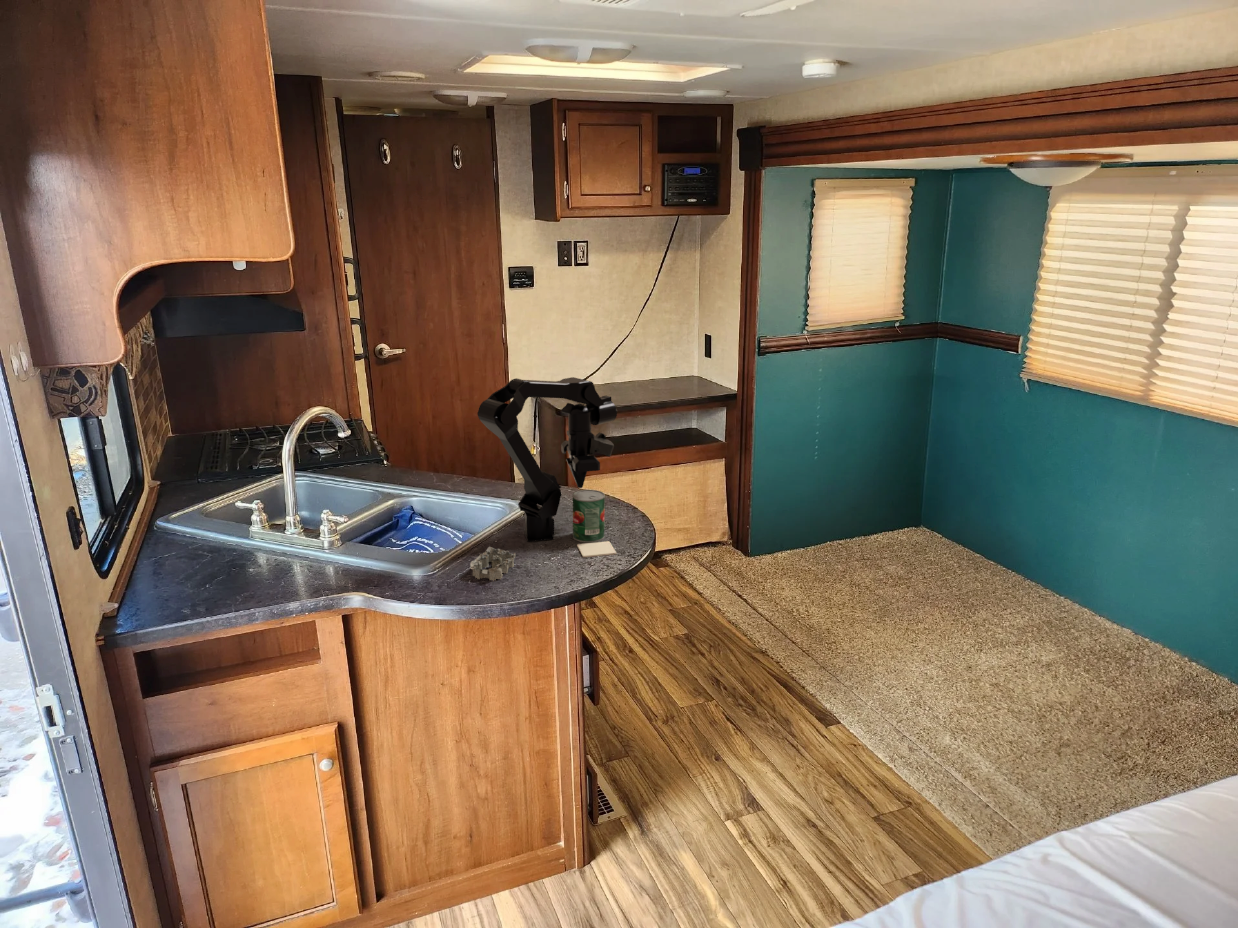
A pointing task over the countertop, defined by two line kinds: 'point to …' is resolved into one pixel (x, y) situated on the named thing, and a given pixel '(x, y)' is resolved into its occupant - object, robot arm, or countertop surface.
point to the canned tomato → (588, 516)
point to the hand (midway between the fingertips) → (580, 487)
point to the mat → (596, 549)
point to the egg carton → (499, 563)
